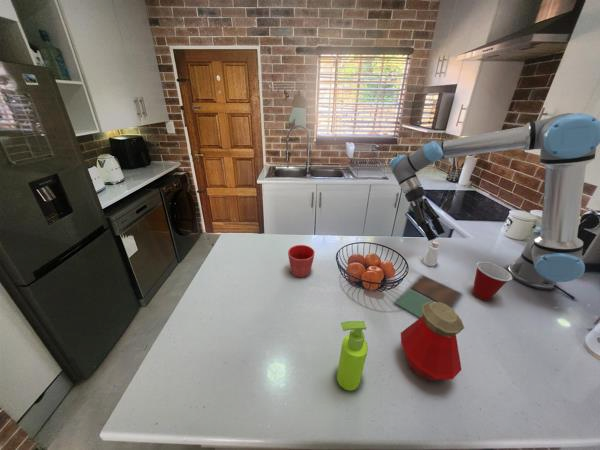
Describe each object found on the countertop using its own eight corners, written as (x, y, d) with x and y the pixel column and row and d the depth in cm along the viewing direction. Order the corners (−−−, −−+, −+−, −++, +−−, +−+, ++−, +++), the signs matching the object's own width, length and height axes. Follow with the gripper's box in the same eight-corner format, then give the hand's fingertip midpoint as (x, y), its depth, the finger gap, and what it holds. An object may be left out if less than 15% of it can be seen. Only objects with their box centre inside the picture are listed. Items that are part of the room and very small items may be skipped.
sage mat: (448, 310, 86) (448, 309, 86) (436, 328, 79) (437, 327, 79) (409, 290, 95) (409, 289, 94) (395, 304, 88) (395, 303, 88)
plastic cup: (505, 308, 88) (520, 281, 83) (472, 302, 90) (484, 276, 84) (491, 287, 98) (503, 263, 92) (461, 283, 99) (471, 258, 94)
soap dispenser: (330, 368, 66) (338, 314, 57) (356, 367, 67) (367, 313, 57) (335, 391, 61) (345, 336, 52) (362, 389, 61) (376, 334, 52)
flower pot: (283, 275, 100) (283, 255, 96) (294, 261, 109) (294, 242, 105) (307, 282, 96) (309, 262, 92) (316, 267, 106) (318, 248, 101)
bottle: (466, 385, 63) (497, 331, 54) (423, 401, 59) (448, 346, 50) (423, 335, 76) (442, 285, 67) (385, 345, 73) (400, 293, 64)
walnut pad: (459, 294, 94) (460, 293, 93) (449, 308, 87) (450, 307, 87) (422, 276, 103) (423, 275, 102) (411, 288, 96) (411, 287, 95)
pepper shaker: (435, 268, 108) (442, 246, 103) (421, 263, 110) (428, 242, 106) (436, 262, 112) (443, 241, 107) (423, 258, 115) (430, 237, 110)
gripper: (414, 193, 115) (436, 234, 111) (392, 196, 97) (418, 246, 93) (430, 184, 110) (454, 228, 106) (410, 186, 92) (438, 238, 88)
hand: (437, 236), depth 99 cm, fingers open, 13 cm apart
